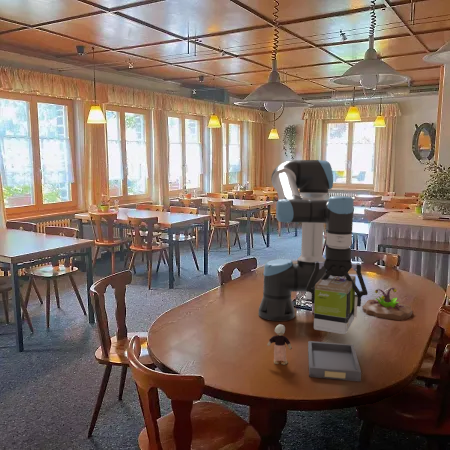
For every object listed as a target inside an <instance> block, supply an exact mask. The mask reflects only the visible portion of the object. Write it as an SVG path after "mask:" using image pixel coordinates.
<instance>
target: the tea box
mask: <svg viewBox="0 0 450 450" xmlns="http://www.w3.org/2000/svg"><path fill="white" fill-rule="evenodd" d="M356 276H357V275H350V277H351V278H352V280H353V281H354V283H355V284H356ZM354 295H356V292H355V291H354V289H353V288H352V281H348V280H347V279H346V277H345V276H343V277H339V276H331V275H330V276H329V278H327V280H321V279H320V280H319V281H318V282H317V283H316V284H315V300H314V304H313V306H314V307H313V308H314V309H313V310H314V311H313V329H314V331H315V330H316V331H321V332H322V331H323V332H329V333H334V334H340V335H346V334H347V332H348V331H349V328H350V327H351V325H352V324H353V322H354V320H355V317H354V316H353V305H354Z"/></svg>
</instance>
